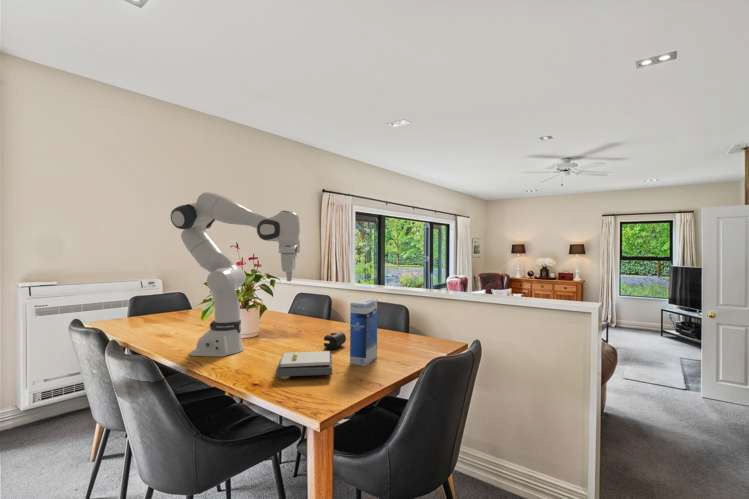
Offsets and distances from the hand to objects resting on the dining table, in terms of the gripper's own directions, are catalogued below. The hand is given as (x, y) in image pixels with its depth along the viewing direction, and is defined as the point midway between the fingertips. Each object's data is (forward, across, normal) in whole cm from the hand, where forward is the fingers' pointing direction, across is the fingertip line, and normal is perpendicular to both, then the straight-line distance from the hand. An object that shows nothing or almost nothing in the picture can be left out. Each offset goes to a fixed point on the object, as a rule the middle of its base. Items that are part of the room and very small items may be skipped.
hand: (289, 281), depth 157 cm
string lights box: (+34, +4, +32) cm, 47 cm away
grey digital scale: (+34, +16, +8) cm, 38 cm away
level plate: (+29, +16, +8) cm, 34 cm away
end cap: (+34, -18, +20) cm, 44 cm away
